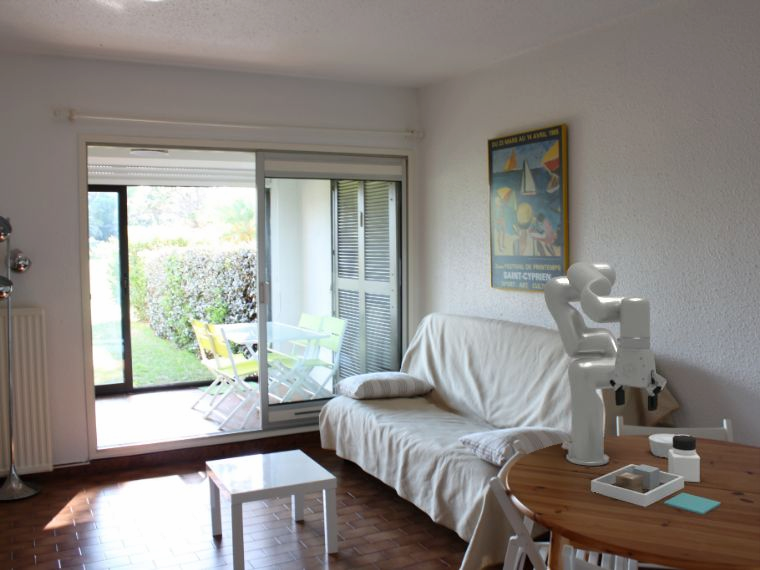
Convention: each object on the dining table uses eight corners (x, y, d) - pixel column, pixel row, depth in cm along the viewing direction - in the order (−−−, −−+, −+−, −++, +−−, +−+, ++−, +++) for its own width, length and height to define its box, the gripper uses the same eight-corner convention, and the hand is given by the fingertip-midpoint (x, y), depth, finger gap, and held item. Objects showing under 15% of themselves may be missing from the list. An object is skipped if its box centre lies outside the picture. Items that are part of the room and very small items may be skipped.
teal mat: (663, 504, 183) (663, 502, 183) (682, 494, 190) (682, 492, 190) (702, 514, 175) (702, 512, 175) (720, 504, 182) (720, 502, 182)
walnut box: (615, 494, 191) (615, 475, 191) (625, 489, 194) (625, 471, 194) (632, 498, 187) (632, 479, 187) (642, 494, 191) (642, 475, 190)
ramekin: (643, 455, 224) (643, 439, 224) (656, 447, 233) (656, 431, 232) (680, 462, 217) (680, 445, 217) (691, 453, 226) (692, 437, 225)
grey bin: (591, 491, 193) (591, 480, 193) (631, 474, 206) (631, 464, 206) (645, 507, 181) (645, 495, 181) (684, 487, 195) (684, 476, 194)
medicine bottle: (700, 482, 198) (700, 440, 198) (673, 481, 200) (673, 439, 199) (694, 474, 205) (694, 433, 205) (668, 473, 207) (668, 432, 206)
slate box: (633, 486, 197) (633, 468, 197) (642, 481, 200) (642, 464, 200) (650, 490, 193) (650, 472, 193) (659, 486, 197) (659, 468, 196)
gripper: (599, 342, 195) (600, 404, 195) (656, 347, 181) (657, 414, 181) (615, 340, 199) (616, 401, 200) (673, 344, 185) (674, 410, 186)
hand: (636, 407), depth 190 cm, fingers open, 9 cm apart
